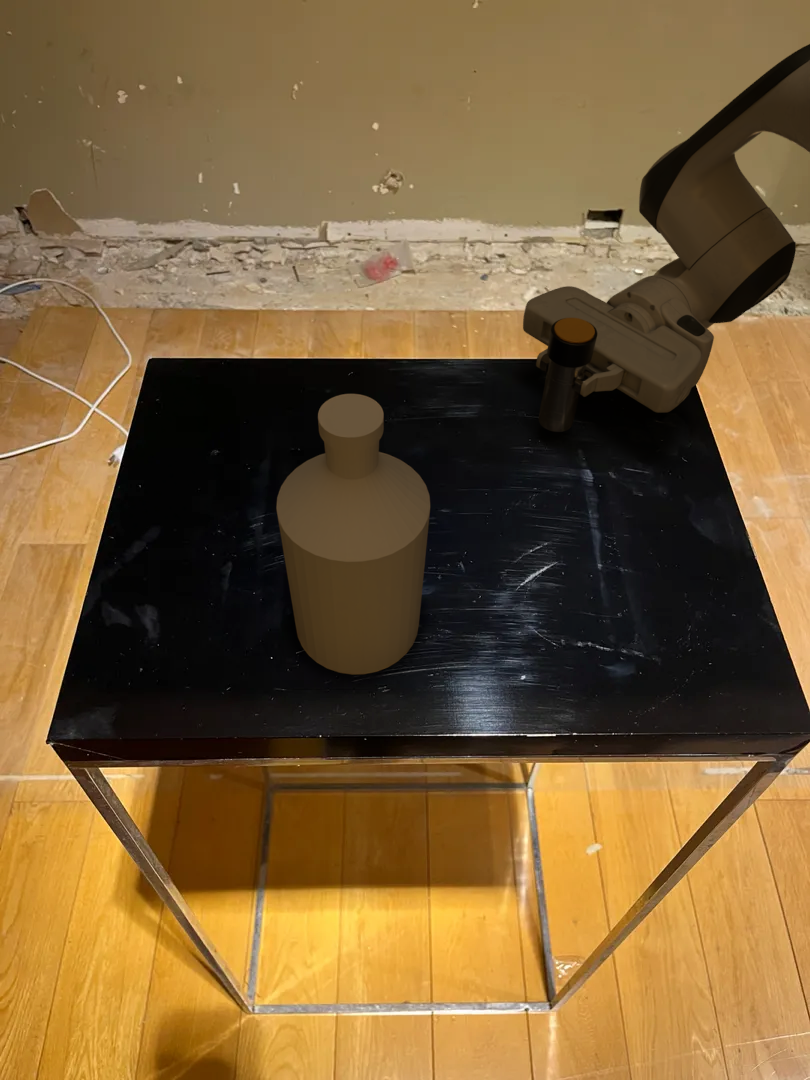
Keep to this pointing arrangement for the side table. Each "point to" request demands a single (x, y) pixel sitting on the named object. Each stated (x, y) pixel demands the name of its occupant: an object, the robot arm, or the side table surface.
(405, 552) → the bottle
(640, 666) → the side table surface
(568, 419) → the torch
